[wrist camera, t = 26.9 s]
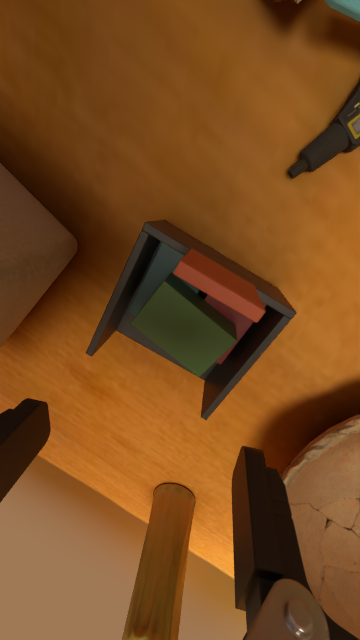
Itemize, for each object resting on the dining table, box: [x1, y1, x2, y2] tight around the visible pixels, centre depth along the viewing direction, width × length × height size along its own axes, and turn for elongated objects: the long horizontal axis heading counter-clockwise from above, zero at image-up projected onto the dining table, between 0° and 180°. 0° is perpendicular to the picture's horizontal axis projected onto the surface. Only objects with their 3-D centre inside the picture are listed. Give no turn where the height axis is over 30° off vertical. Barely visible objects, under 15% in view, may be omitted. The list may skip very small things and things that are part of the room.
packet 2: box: [130, 273, 238, 377], centre depth 20 cm, size 7×4×3 cm, turn 51°
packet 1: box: [128, 242, 200, 316], centre depth 22 cm, size 7×4×3 cm, turn 151°
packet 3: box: [202, 293, 266, 365], centre depth 23 cm, size 7×4×3 cm, turn 151°
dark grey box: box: [86, 220, 296, 420], centre depth 20 cm, size 12×12×11 cm
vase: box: [122, 484, 195, 640], centre depth 30 cm, size 6×6×14 cm
